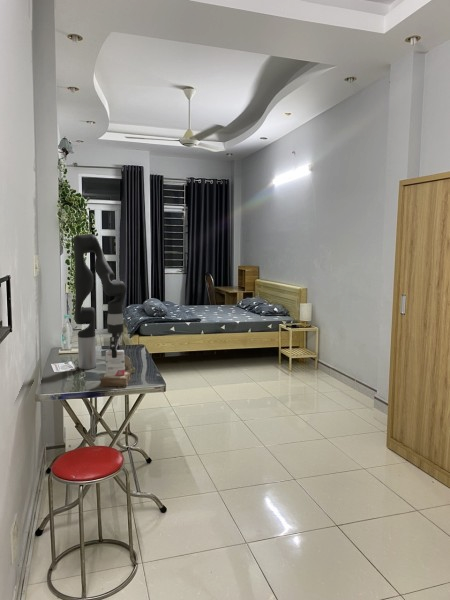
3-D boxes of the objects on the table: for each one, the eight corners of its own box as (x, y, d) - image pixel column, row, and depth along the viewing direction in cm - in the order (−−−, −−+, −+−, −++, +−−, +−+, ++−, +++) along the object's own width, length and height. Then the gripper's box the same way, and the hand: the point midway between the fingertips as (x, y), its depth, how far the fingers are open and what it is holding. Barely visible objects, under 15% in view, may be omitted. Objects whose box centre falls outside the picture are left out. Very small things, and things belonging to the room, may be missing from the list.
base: (106, 379, 231) (106, 371, 231) (130, 379, 231) (130, 371, 231) (100, 386, 219) (100, 378, 219) (126, 386, 219) (126, 377, 219)
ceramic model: (109, 376, 237) (108, 357, 236) (105, 371, 247) (105, 353, 246) (136, 374, 243) (136, 355, 242) (132, 369, 253) (131, 351, 252)
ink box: (125, 372, 228) (124, 349, 227) (124, 375, 223) (124, 351, 222) (106, 373, 227) (106, 349, 226) (105, 376, 222) (105, 351, 221)
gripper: (110, 320, 229) (111, 352, 231) (104, 325, 215) (104, 359, 217) (125, 320, 230) (126, 352, 231) (120, 325, 215) (121, 359, 217)
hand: (116, 355), depth 224 cm, fingers open, 8 cm apart
